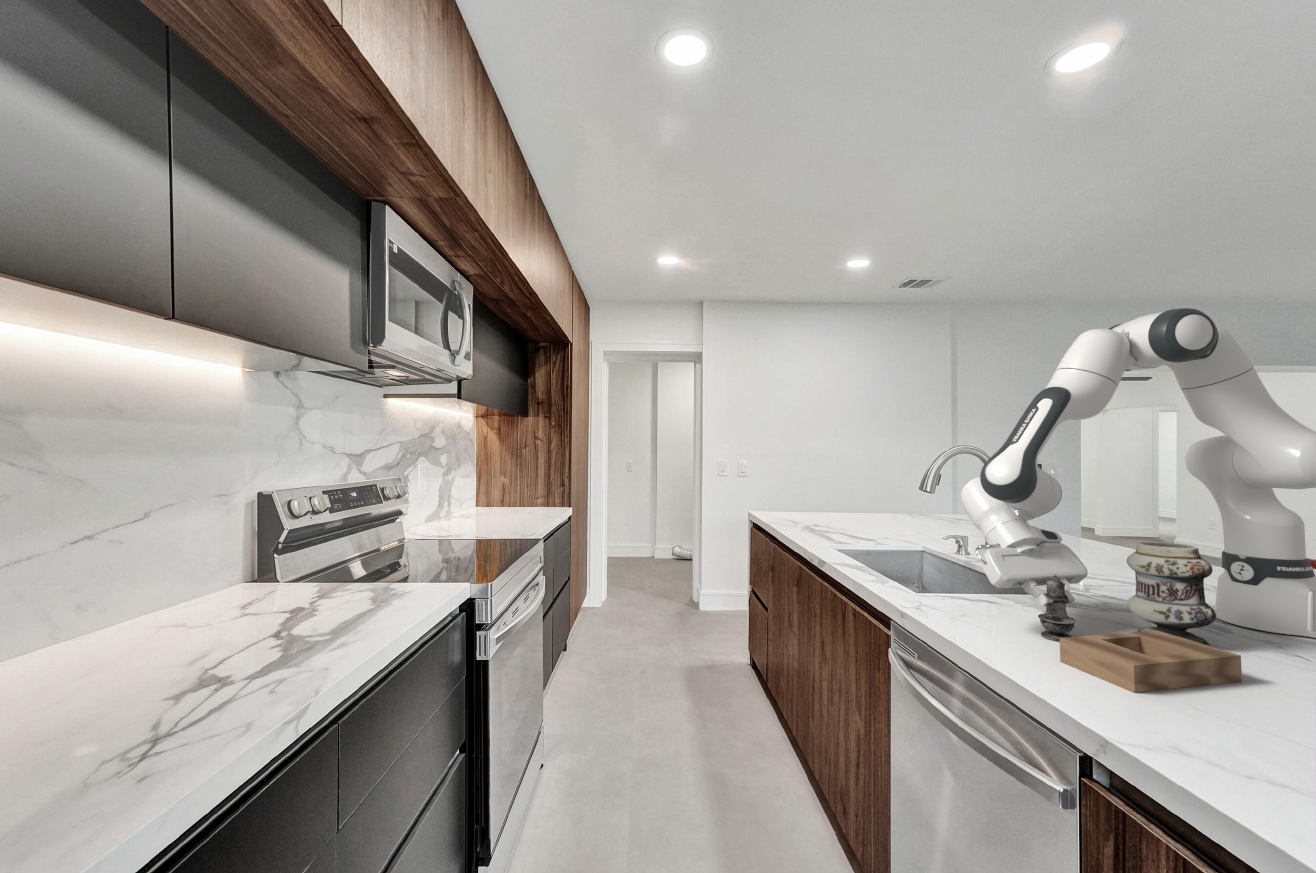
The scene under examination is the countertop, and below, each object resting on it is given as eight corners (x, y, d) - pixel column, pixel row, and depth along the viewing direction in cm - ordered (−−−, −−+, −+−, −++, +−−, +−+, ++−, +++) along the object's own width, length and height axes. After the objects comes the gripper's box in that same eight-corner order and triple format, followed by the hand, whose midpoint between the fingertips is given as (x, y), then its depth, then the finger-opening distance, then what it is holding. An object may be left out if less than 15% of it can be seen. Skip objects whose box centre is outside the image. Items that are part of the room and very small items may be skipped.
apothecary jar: (1178, 629, 106) (1174, 539, 106) (1237, 652, 94) (1233, 550, 94) (1112, 628, 107) (1109, 538, 107) (1163, 650, 95) (1159, 549, 95)
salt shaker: (1063, 632, 104) (1061, 571, 105) (1084, 642, 99) (1082, 578, 99) (1031, 631, 105) (1029, 570, 105) (1050, 642, 99) (1048, 577, 100)
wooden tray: (1156, 652, 94) (1155, 630, 94) (1242, 681, 82) (1240, 655, 82) (1060, 661, 90) (1059, 637, 90) (1134, 692, 78) (1133, 665, 79)
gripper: (979, 536, 107) (1021, 597, 98) (1065, 532, 111) (1114, 591, 101) (963, 554, 112) (1002, 614, 102) (1046, 550, 115) (1092, 608, 105)
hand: (1059, 603), depth 101 cm, fingers closed on salt shaker, 4 cm apart
